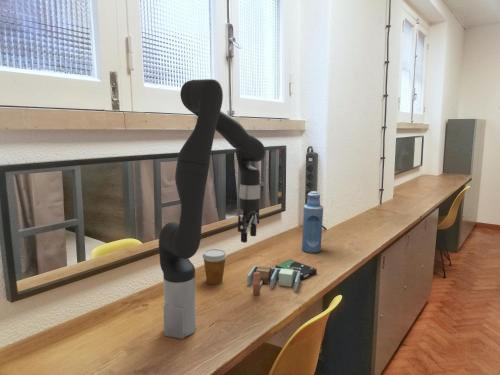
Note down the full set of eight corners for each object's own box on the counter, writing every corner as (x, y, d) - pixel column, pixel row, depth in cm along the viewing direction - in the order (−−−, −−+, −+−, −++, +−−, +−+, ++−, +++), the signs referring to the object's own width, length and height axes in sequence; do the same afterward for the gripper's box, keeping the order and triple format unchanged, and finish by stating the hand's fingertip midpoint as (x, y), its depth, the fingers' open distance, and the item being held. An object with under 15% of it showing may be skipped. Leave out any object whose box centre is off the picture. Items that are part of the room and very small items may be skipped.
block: (291, 286, 139) (291, 274, 138) (278, 285, 140) (279, 273, 139) (293, 281, 143) (293, 269, 143) (280, 280, 145) (281, 268, 144)
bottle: (319, 247, 184) (322, 190, 179) (321, 254, 174) (325, 194, 169) (301, 246, 185) (303, 189, 180) (302, 253, 175) (304, 193, 170)
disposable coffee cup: (229, 277, 146) (229, 249, 144) (221, 287, 137) (221, 258, 135) (208, 274, 148) (207, 247, 146) (198, 284, 139) (198, 255, 137)
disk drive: (316, 275, 151) (289, 264, 162) (317, 268, 151) (290, 258, 161) (301, 282, 144) (274, 270, 155) (302, 275, 144) (274, 264, 154)
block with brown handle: (262, 295, 131) (262, 275, 129) (249, 294, 132) (249, 273, 131) (270, 278, 146) (271, 259, 144) (258, 277, 147) (259, 258, 146)
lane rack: (296, 292, 134) (296, 282, 134) (247, 285, 139) (247, 275, 138) (299, 280, 145) (300, 270, 144) (254, 274, 149) (254, 265, 149)
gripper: (251, 200, 122) (250, 246, 125) (266, 194, 135) (265, 235, 138) (231, 198, 125) (231, 243, 128) (248, 192, 138) (247, 232, 141)
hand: (248, 238), depth 133 cm, fingers open, 8 cm apart
